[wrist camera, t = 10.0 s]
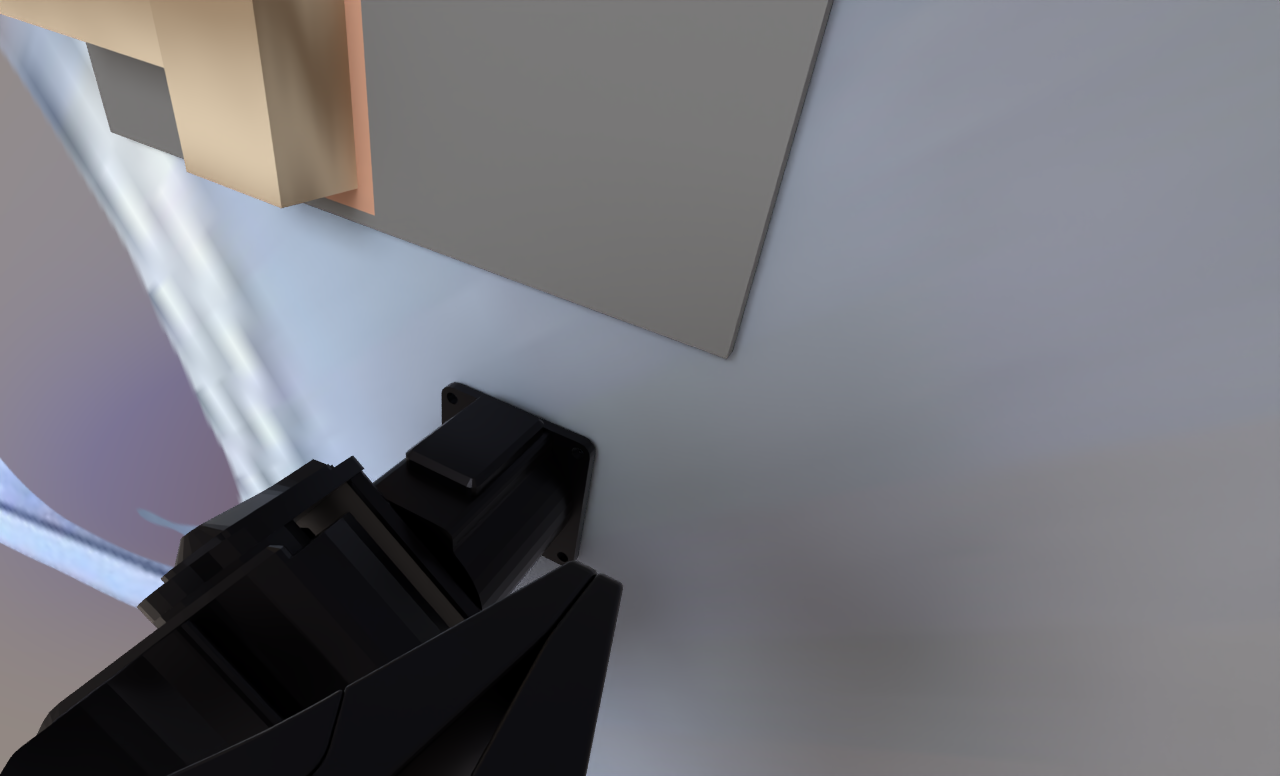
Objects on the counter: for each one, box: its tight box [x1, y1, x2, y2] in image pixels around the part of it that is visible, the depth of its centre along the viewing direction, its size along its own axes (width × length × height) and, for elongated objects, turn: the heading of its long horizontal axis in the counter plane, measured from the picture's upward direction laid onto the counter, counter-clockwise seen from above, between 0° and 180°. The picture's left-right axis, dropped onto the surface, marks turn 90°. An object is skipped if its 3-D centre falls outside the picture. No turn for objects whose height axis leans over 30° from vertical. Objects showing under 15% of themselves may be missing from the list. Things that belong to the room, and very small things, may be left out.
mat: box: [86, 0, 833, 359], centre depth 19 cm, size 12×26×1 cm, turn 80°
